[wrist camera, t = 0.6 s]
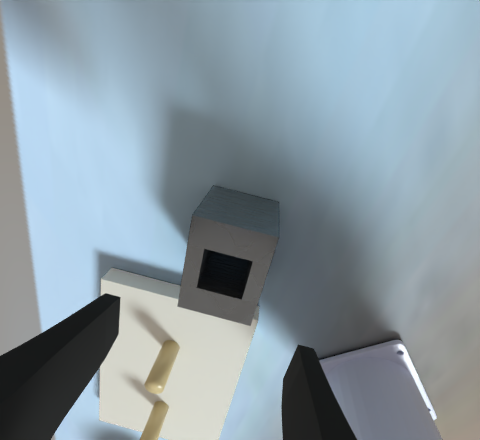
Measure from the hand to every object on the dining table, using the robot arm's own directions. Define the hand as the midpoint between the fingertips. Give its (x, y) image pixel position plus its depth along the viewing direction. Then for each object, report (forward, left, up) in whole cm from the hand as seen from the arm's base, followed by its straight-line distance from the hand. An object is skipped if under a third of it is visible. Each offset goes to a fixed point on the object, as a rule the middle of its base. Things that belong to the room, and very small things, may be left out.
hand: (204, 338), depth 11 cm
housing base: (-9, +12, -9) cm, 18 cm away
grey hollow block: (0, 0, -9) cm, 9 cm away
